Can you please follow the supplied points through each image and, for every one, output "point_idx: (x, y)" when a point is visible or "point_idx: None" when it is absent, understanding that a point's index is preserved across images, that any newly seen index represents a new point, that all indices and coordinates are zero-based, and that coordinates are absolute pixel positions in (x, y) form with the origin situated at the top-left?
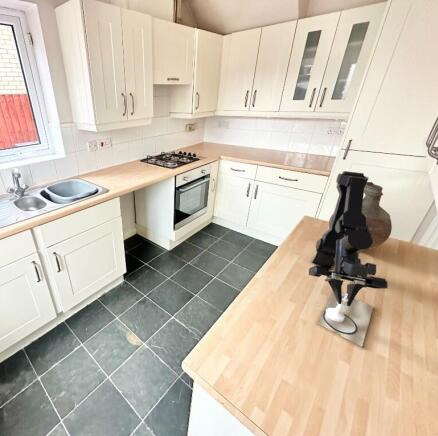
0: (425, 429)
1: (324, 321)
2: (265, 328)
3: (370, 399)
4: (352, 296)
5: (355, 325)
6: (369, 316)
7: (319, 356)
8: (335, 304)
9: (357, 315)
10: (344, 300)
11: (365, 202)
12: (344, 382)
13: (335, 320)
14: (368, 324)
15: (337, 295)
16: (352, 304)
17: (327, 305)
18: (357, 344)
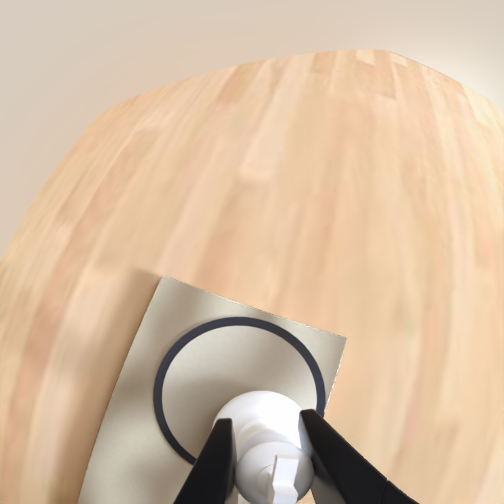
0: (117, 105)
1: (320, 361)
2: (482, 215)
3: (206, 108)
4: (203, 502)
5: (160, 402)
6: (86, 484)
7: (332, 169)
8: None
9: (137, 481)
10: (281, 443)
11: None
12: (263, 121)
13: (264, 392)
14: (98, 433)
15: (360, 465)
16: None
17: None
18: (179, 282)
